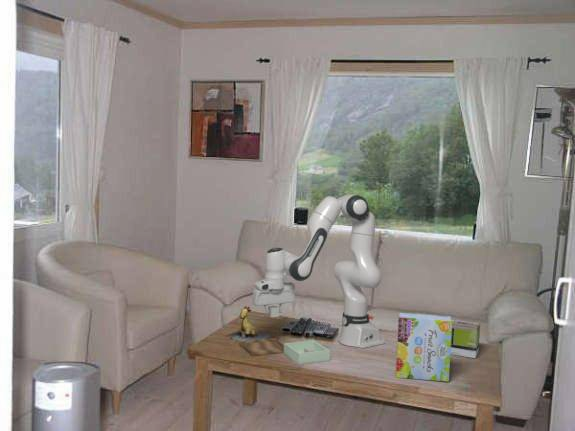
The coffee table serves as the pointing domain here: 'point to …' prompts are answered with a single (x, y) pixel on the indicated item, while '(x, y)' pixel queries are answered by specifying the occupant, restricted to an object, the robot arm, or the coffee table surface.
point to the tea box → (465, 338)
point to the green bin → (299, 357)
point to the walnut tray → (262, 347)
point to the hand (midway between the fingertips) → (273, 313)
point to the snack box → (423, 347)
